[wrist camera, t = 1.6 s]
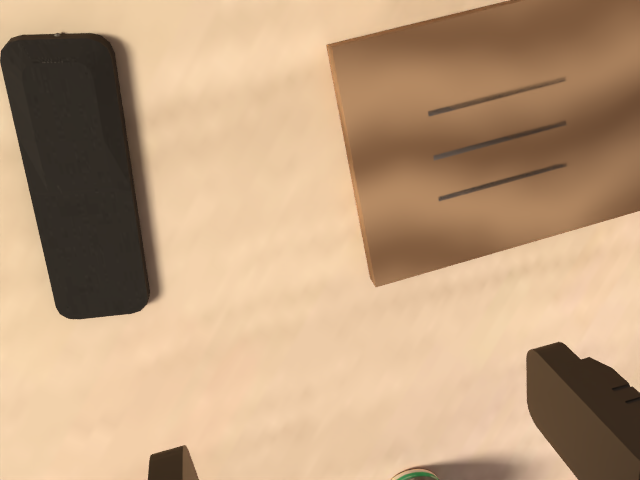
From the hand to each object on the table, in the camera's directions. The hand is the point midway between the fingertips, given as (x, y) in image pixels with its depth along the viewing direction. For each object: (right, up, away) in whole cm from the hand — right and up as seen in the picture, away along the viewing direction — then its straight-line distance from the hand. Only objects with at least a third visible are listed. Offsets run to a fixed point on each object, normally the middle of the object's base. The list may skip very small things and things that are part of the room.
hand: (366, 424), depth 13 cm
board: (+9, +10, +20) cm, 25 cm away
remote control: (-13, +7, +17) cm, 23 cm away
